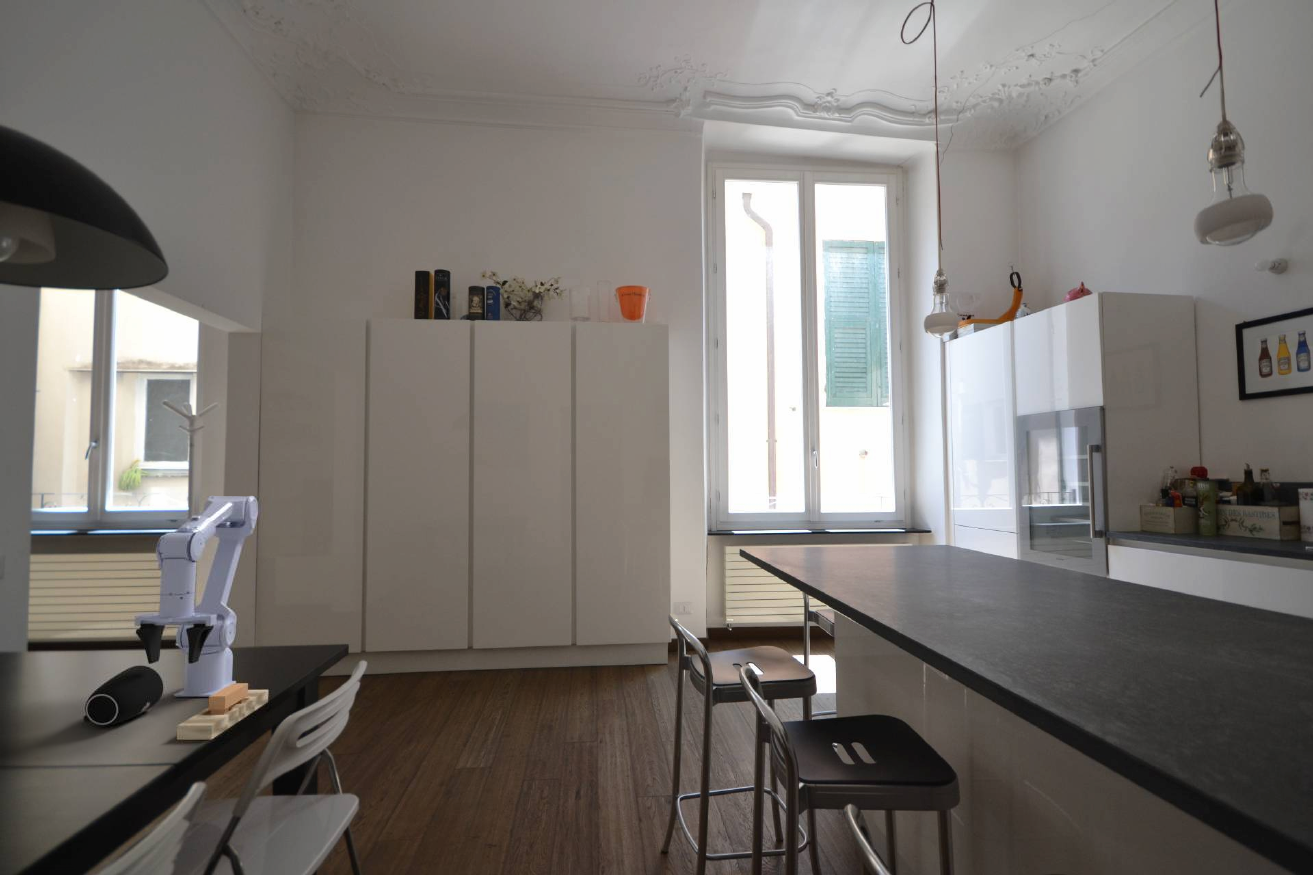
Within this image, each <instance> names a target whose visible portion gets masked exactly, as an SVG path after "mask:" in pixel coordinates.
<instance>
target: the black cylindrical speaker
mask: <svg viewBox="0 0 1313 875" xmlns="http://www.w3.org/2000/svg"><path fill="white" fill-rule="evenodd" d="M163 693H164V681H163V679H162V677H161V675H160V674H159V673H158V672H157V670H155V669H154V668H152V667H151V666H146V665H143V664H142V665H134V666H131V667H128V668H127V669H125V670H123V671H121V672H119V673H117V674H115V676H113V677H112V678H110V679H109V680H107V681H105V683H103V684H101V685H100V686H99V687H98V688H97V689H95V690H94V691H93V692H92V693H91V694H90V695H89V697H88V698H87V701H86V703H85V706H84V712H85V715H83V718H82V719H83V721H84V722H89V721H90V722H91V723H92V724H94V725H97V726H100V727H101V726H102V727H108V726H113V725H117V724H120V723H122V722H126V721H127V720H129V719H132V718H133V717H136V716H138V715H141V713H144V712H146V711H147V710H149V709H151V708H152V707H154V705H156V704H157V703H158V702H159V701H160V700H161V698H162V696H163Z"/></svg>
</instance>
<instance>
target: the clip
mask: <svg viewBox="0 0 1313 875" xmlns="http://www.w3.org/2000/svg"><path fill="white" fill-rule="evenodd" d="M248 690H249V683H248V682H247V683H245V682H244V683H243V682H240V683H239V682H236V683H233V684H231V685H229V686H227V687H225V688H223V689H222V690H220V691H218V692H216V693H214V694H213V695H211V696H208V708H209V710H211V713H210V715H224V714H225V713H227V712H229V707H230V706H232V705H234V704H241V703H243V702H245V698H246V697H247V696H248Z"/></svg>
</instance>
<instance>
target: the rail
mask: <svg viewBox="0 0 1313 875" xmlns="http://www.w3.org/2000/svg"><path fill="white" fill-rule="evenodd" d="M267 703H269V689H248V696H247V697H246V698H245V702H243V703H241V704H234V705H232V706H230V707H229V712H227V713H225V714H224V715H210V713H211V710H209V707H207V708H204V709H203V710H201V711H200V712H198V713H197V714H195V715H194V716H192V717H190V718H188V719H186V720H185V721H183V722H181V723H180V724H178V725H177V731H176V732H177V734H176V740H178V741H179V740H183V741H186V740H189V741H190V740H195V741H196V740H214V738H216V737H218V736H219V735H221V734H222V733H223V732H225V731H227V730H228V729H229V728H231V727H232V726H234V725H235V724H237V723H238V722H240V721H241V720H243V719H245V718H246V717H247V716H249V715H251V714H252V713H254V712H255V711H257V710H258V709H260V708H262V707H263V706H265V704H267Z"/></svg>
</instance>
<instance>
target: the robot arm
mask: <svg viewBox="0 0 1313 875" xmlns="http://www.w3.org/2000/svg"><path fill="white" fill-rule="evenodd" d="M258 515H259V503H258V500H257V498H256V497H255V496H253V495H249V496H244V495H243V496H234V495H231V496H227V495H226V496H225V495H224V496H221V495H219V496H217V495H210V496H209V497H208V498H207V499H205V503H204V506H203V512H202V513H201V514H200V515H199V514H198V515H197V514H196V515H192V516H191V517H189V518H188V520H186V521H185V522H184V523H183V524H182V525H181V526H180V527H179V528H178V529H177V528H176V530H175V531H174V532H166V533H165V534H164V535H163V534H162V536H160V537H159V539H158V541H157V544H156V548H155V556H156V558H157V560H158V566H157V568H158V571H161V572H160V573H161V574H160V588H159V606H158V613H149V614H147V613H145V614H144V613H143V614H139V615H135V617H134V627H139V628H137V629H135V634H136V636H137V637H138V638H139V639H140V641H141V644H142V645H143V648H144V651H145V655H146V659H147V663H148V664H149V665H151V664H155V663H157V662H159V661H160V655H161V643H162V638H163V633H164V631H165V627H166V626H178V628H177V631H176V635H175V639H176V640H175V641H176V642H175V643H176V644H177V646H178V648H179V649H180V650H182V653H183V654H185V661H184V662H185V663H184V665H185V666H184V667H185V668H184V683H183V689H182V690H180V691H179V692H176V693H174V694H173V696H174V697H175V698H177V697H180V698H182V697H183V698H184V697H185V698H187V697H190V698H191V697H195V698H196V697H199V698H200V697H209V696H211V695H213V694H214V693H216V692H218V691H220V690H222V689H223V688H225V687H227V686H229V685H231V684H233V683H237V680H233V663H234V661H233V660H234V655H233V652H232V650H231V649H230V646H231V645H232V644H233V642H234V640H235V636H236V632H237V631H236V630H237V629H236V628H237V626H236V625H237V620H238V617H237V614H236V613H235V611H233V610H232V609H231V608H229V607H228V606H227V604H228V601H229V596H230V592H231V589H232V585H233V581H234V579H235V575H236V570H237V567H238V563H239V560H240V556H241V552H242V548H243V545H244V542H245V539H246V538H247V537H248V536H251V535H252V534H253V533H254V529H255V527H256V524H257V519H258ZM213 536H214V537H216V538H218V543H217V547H216V550H215V554H214V557H213V561H212V565H211V567H210V571H209V575H208V578H207V581H206V584H205V587H204V592H203V594H202V598H201V601H200V603H199V604H198V605H197V604H196V606H195V596H196V594H195V593H196V579H197V578H196V576H197V562H198V561H199V560H200V559H201V557H202V556H203V551H204V549H205V548H206V544H207V542H209V541H210V540H211V538H213Z"/></svg>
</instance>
